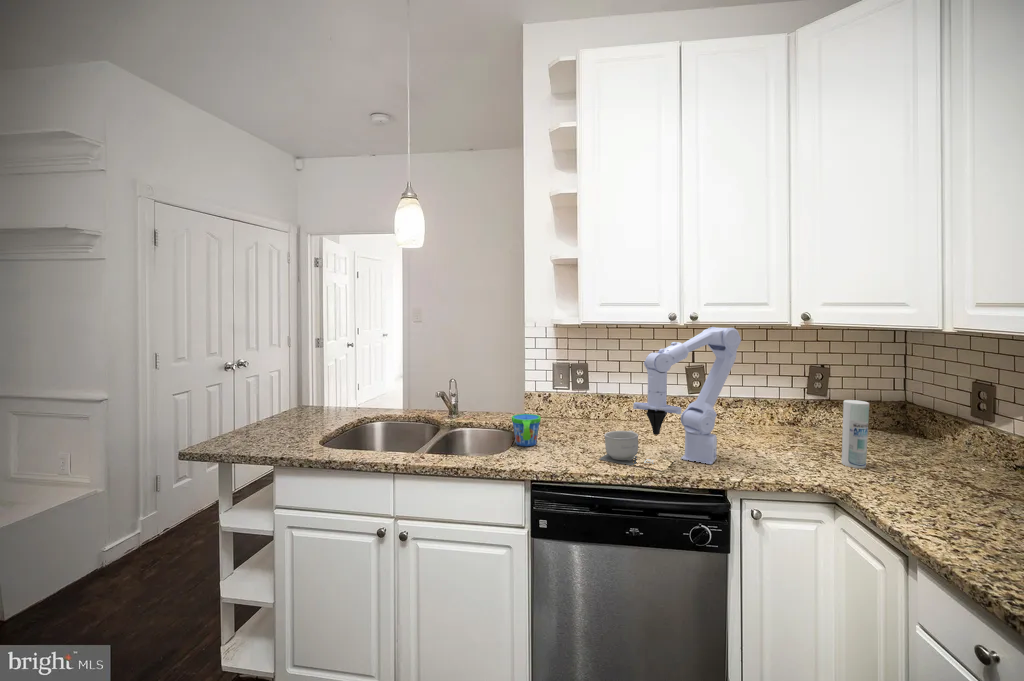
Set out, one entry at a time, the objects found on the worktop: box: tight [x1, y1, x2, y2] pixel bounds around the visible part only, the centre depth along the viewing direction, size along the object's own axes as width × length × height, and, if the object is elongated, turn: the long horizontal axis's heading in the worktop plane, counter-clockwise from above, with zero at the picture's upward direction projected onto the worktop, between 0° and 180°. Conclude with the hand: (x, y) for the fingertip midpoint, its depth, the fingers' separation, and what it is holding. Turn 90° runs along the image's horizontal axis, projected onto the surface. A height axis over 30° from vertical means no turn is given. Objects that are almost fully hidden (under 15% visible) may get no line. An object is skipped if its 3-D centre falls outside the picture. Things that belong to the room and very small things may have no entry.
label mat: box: [598, 453, 654, 466], centre depth 153 cm, size 21×13×1 cm, turn 56°
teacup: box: [604, 430, 639, 460], centre depth 155 cm, size 14×11×8 cm
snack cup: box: [511, 413, 542, 447], centre depth 171 cm, size 16×10×10 cm
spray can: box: [841, 399, 870, 469], centre depth 147 cm, size 6×6×20 cm
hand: (656, 434), depth 149 cm, fingers closed
